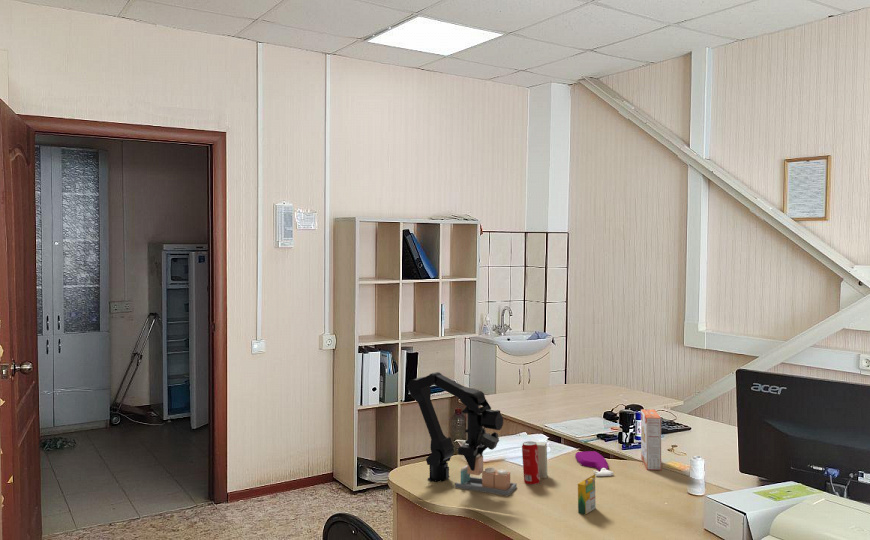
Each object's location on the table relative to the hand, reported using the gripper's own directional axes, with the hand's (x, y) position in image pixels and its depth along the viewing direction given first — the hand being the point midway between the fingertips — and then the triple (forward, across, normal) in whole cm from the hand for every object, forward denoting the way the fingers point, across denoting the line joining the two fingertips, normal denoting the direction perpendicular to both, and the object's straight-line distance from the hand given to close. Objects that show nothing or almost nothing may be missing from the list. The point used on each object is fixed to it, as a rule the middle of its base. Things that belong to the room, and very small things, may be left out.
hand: (475, 468), depth 253 cm
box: (+7, +20, -18) cm, 28 cm away
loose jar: (+2, 0, 0) cm, 2 cm away
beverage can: (+7, +12, -17) cm, 22 cm away
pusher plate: (+6, 0, +4) cm, 7 cm away
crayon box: (+7, -6, -42) cm, 43 cm away
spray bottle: (+8, +42, -34) cm, 54 cm away
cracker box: (+7, +52, -54) cm, 76 cm away
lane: (+7, 0, -4) cm, 8 cm away
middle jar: (+6, 0, -6) cm, 9 cm away
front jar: (+6, 0, -10) cm, 12 cm away
